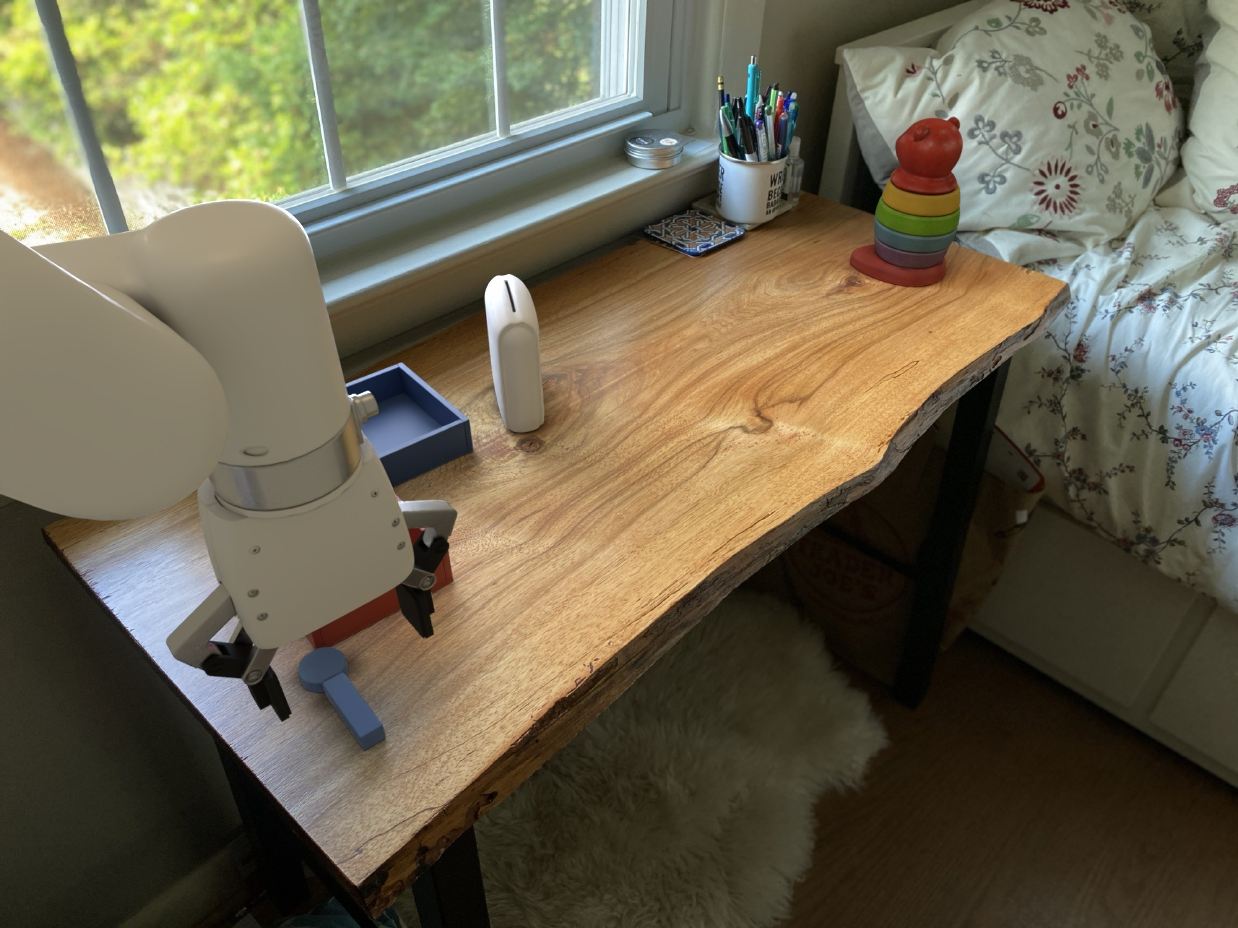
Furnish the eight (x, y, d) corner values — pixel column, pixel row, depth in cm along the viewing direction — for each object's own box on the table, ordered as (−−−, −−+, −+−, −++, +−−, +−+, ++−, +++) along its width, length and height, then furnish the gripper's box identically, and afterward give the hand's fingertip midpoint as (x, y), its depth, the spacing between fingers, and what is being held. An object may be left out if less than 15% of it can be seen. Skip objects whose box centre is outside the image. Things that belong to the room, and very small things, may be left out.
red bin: (317, 653, 66) (307, 620, 64) (249, 560, 73) (238, 527, 71) (453, 581, 71) (448, 548, 69) (378, 501, 79) (371, 468, 77)
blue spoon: (397, 731, 61) (394, 718, 60) (352, 758, 59) (348, 745, 58) (335, 648, 66) (332, 635, 65) (293, 671, 65) (288, 658, 64)
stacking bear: (912, 243, 118) (942, 98, 106) (968, 277, 110) (1006, 126, 99) (841, 260, 114) (865, 112, 103) (894, 296, 107) (926, 141, 96)
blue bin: (360, 502, 79) (353, 469, 77) (299, 435, 86) (291, 404, 84) (473, 450, 84) (469, 419, 82) (406, 392, 92) (401, 362, 90)
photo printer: (490, 377, 94) (478, 265, 86) (532, 372, 94) (524, 260, 87) (502, 437, 86) (491, 319, 78) (549, 431, 87) (542, 314, 79)
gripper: (397, 357, 54) (439, 565, 65) (83, 484, 46) (191, 698, 56) (467, 416, 49) (499, 629, 60) (132, 568, 41) (239, 784, 52)
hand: (350, 662), depth 58 cm, fingers open, 9 cm apart
